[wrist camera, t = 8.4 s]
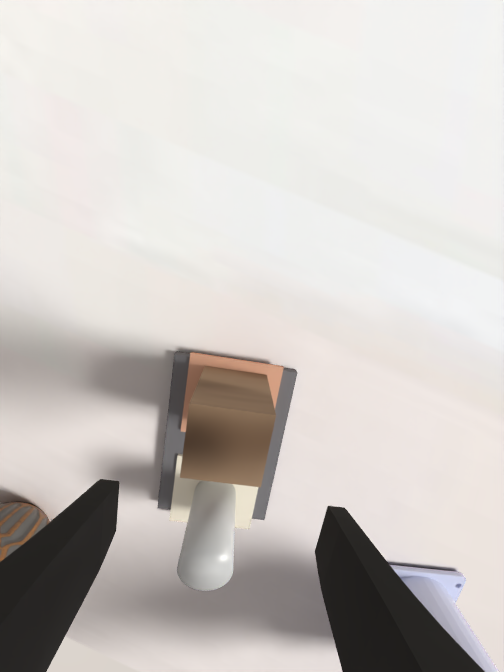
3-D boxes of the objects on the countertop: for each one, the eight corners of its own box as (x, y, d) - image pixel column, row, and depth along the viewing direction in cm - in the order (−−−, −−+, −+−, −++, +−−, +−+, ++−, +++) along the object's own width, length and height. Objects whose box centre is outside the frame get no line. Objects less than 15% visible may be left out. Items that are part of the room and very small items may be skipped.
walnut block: (256, 429, 18) (260, 487, 13) (197, 421, 18) (179, 477, 13) (266, 374, 17) (276, 415, 12) (205, 365, 17) (189, 403, 12)
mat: (261, 521, 21) (262, 530, 20) (159, 509, 20) (155, 519, 19) (296, 365, 18) (298, 369, 17) (177, 347, 17) (174, 350, 16)
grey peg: (232, 513, 19) (228, 593, 15) (191, 508, 19) (174, 588, 14) (238, 479, 19) (237, 551, 14) (196, 474, 19) (180, 545, 14)
